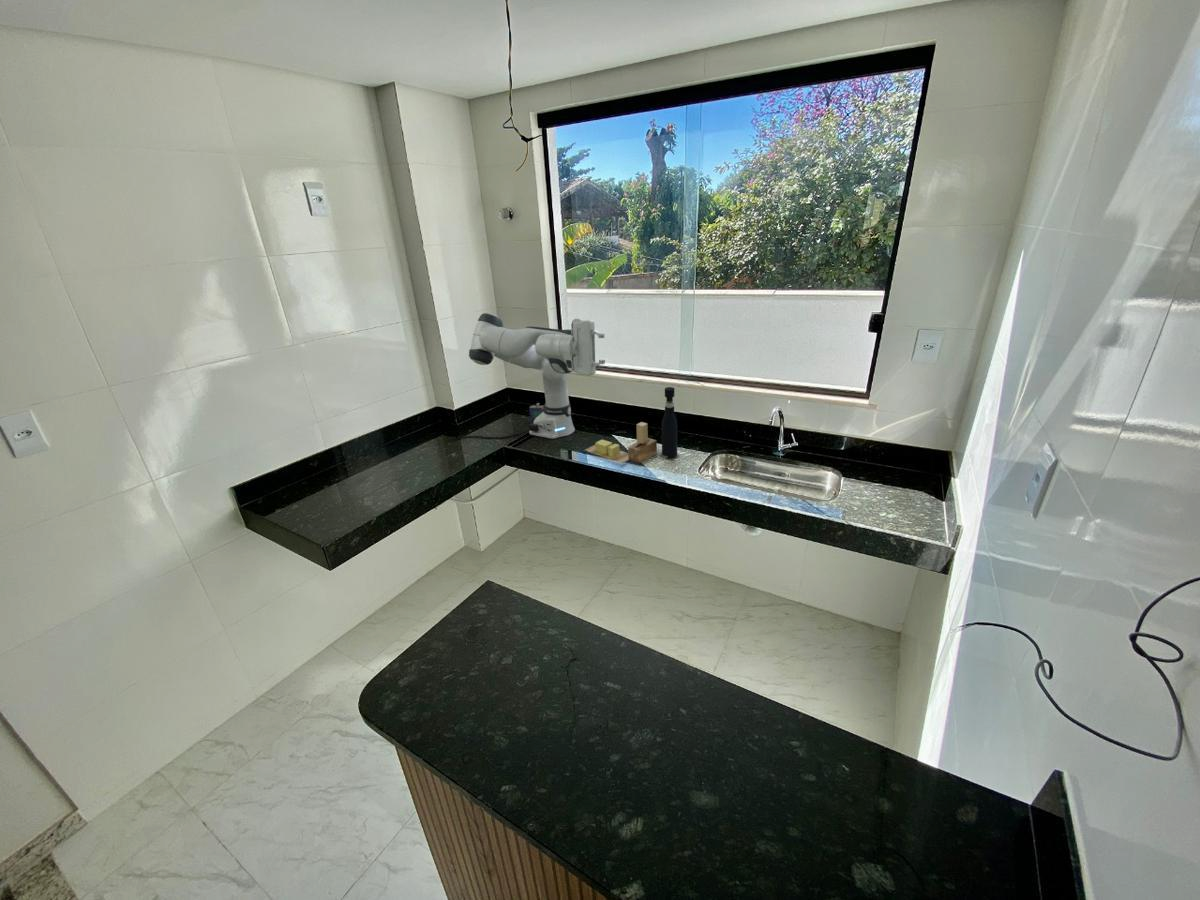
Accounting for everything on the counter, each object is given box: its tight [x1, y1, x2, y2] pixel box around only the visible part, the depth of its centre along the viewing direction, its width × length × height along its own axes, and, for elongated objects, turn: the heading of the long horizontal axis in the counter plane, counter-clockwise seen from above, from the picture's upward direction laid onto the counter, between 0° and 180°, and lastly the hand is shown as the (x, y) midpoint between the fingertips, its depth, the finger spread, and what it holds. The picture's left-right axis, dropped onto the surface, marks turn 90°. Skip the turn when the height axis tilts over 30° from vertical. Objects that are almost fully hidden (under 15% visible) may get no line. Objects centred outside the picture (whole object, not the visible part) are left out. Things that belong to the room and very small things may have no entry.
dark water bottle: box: [661, 386, 678, 460], centre depth 200 cm, size 6×6×30 cm
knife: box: [636, 421, 650, 448], centre depth 203 cm, size 3×8×16 cm, turn 138°
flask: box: [528, 402, 544, 424], centre depth 247 cm, size 9×3×11 cm, turn 87°
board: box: [584, 444, 630, 464], centre depth 211 cm, size 22×9×1 cm, turn 48°
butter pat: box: [608, 443, 621, 457], centre depth 208 cm, size 2×4×4 cm, turn 138°
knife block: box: [627, 437, 658, 464], centre depth 205 cm, size 6×12×7 cm, turn 138°
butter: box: [594, 439, 613, 454], centre depth 212 cm, size 6×4×4 cm
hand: (604, 349), depth 176 cm, fingers open, 8 cm apart
